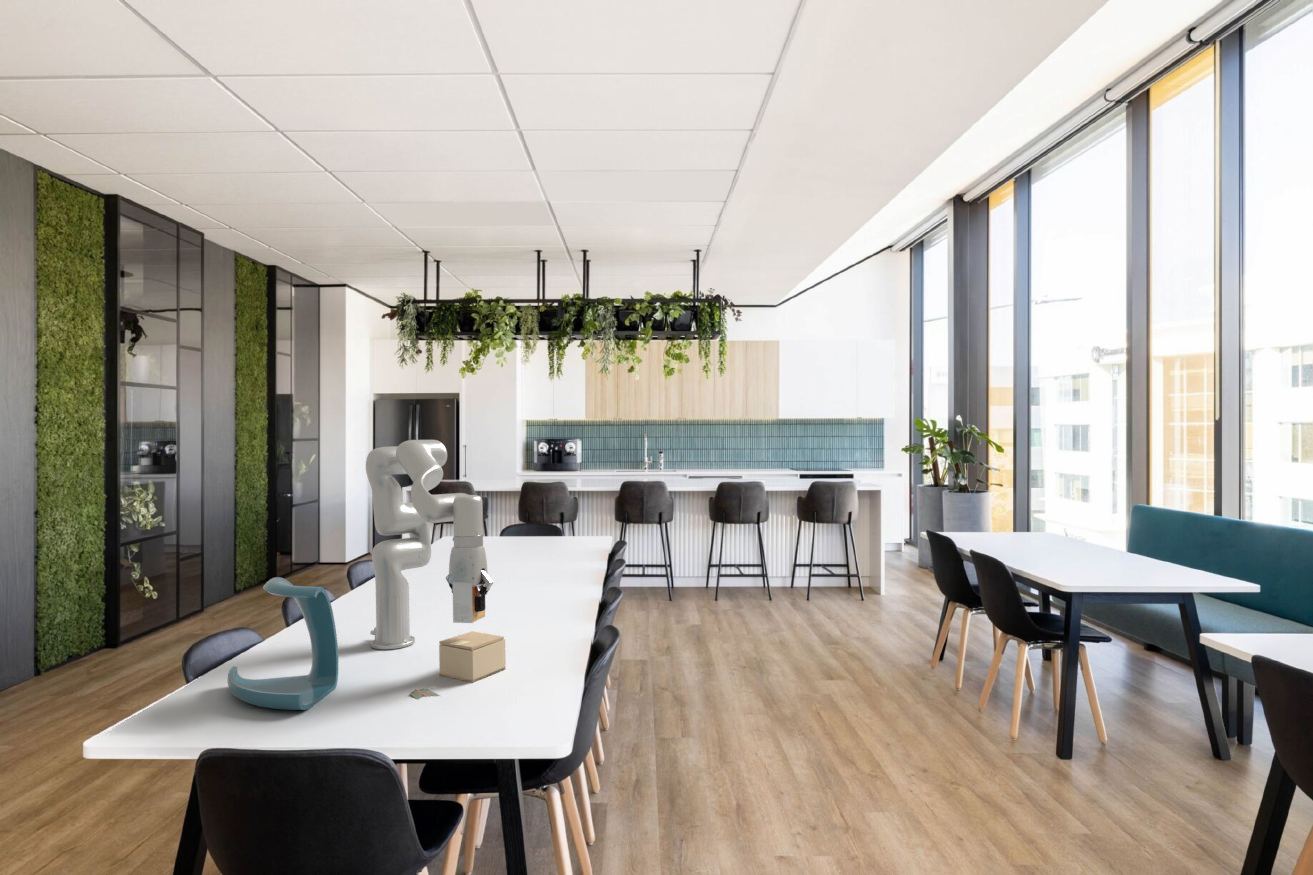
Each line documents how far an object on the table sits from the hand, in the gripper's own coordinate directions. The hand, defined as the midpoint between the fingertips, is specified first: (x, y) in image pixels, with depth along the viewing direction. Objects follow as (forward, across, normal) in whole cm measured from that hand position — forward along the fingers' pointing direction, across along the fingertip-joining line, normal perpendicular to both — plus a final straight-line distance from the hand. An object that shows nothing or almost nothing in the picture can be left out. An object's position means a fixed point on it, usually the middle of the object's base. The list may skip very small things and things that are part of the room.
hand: (469, 608), depth 190 cm
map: (+18, +8, -19) cm, 27 cm away
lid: (+9, 0, +1) cm, 9 cm away
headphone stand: (+17, -31, -36) cm, 50 cm away
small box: (+3, 0, 0) cm, 3 cm away
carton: (+17, 0, +1) cm, 17 cm away
